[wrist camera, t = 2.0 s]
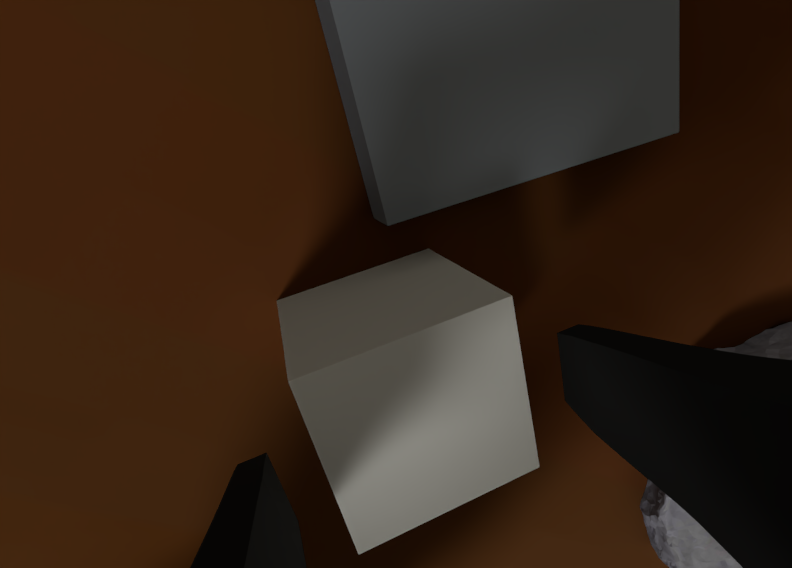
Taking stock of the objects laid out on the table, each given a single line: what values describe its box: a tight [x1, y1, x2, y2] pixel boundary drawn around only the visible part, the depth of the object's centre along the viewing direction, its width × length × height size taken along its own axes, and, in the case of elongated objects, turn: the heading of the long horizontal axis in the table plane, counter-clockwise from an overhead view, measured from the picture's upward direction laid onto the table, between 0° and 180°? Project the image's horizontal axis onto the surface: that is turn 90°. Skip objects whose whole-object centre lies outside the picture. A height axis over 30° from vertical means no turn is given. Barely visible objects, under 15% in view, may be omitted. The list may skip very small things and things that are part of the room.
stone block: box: [640, 322, 792, 568], centre depth 21 cm, size 12×5×10 cm
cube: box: [277, 249, 539, 555], centre depth 12 cm, size 5×5×5 cm
